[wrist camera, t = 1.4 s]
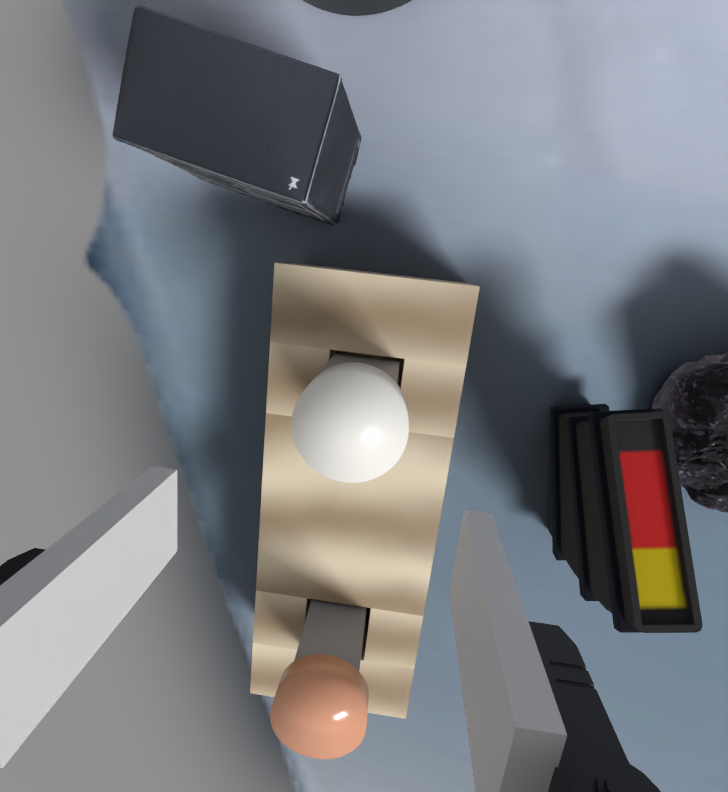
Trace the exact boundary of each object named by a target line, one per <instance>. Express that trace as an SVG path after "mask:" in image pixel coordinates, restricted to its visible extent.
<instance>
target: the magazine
mask: <svg viewBox="0 0 728 792" xmlns="http://www.w3.org/2000/svg"><path fill="white" fill-rule="evenodd" d="M549 532H550V534H551V536H552V537H553V554H554V556H555V558H556V560H566V561H567V563H568V564H569V566H570V567H571V569H572V570H573V572H574V573H575V575H576V576H577V577H578V578H579V585H580V595H581V596H582V597H583V598H584V599H585V601H599V602H600V603H601V604H602V605H603V606H604V607H605V608H606V609H607V610H608V611H610V612H611V613H612V615H613V623H614V628H615V629H616V630H618V631H619V632H643V633H688V632H698V631H700V630H701V628H702V619H701V613H700V607H699V600H698V594H697V588H696V581H695V575H694V568H693V562H692V556H691V549H690V543H689V537H688V530H687V524H686V517H685V511H684V505H683V498H682V492H681V486H680V479H679V473H678V467H677V460H676V454H675V447H674V441H673V435H672V428H671V422H670V417H669V416H668V414H667V413H664V411H663V409H662V408H659V409H639V410H620V411H609V406H607V405H606V404H596V405H591V404H580V405H562V406H554V407H551V429H550V485H549Z"/></svg>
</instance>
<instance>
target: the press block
mask: <svg viewBox="0 0 728 792" xmlns="http://www.w3.org/2000/svg"><path fill="white" fill-rule="evenodd" d="M479 289H480V286H476V285H473V284H469V283H465V282H457V281H448V280H439V279H431V278H422V277H413V276H405V275H396V274H387V273H379V272H370V271H361V270H353V269H344V268H335V267H327V266H318V265H309V264H301V263H274V280H273V298H272V315H271V333H270V351H269V368H268V386H267V404H266V421H265V439H264V457H263V474H262V492H261V510H260V528H259V545H258V563H257V581H256V598H255V616H254V634H253V651H252V669H251V688H250V693H254V694H259V695H265V696H272V697H275V694H276V691H277V688H278V685H279V681H280V678H281V675H282V673H283V672H284V670H285V669H286V668H287V667H288V666H289V665H290V664H291V663H292V662H294V659H295V656H296V652H297V649H298V645H299V642H300V638H301V635H302V631H303V628H304V624H305V621H306V617H307V614H308V610H309V607H310V603H311V600H317V601H323V602H330V603H337V604H343V605H350V606H356V607H363V608H367V609H366V618H365V627H364V635H363V644H362V652H361V661H360V669H359V672H360V673H361V674H362V676H363V677H364V679H365V681H366V683H367V686H368V690H369V702H368V713H374V714H380V715H386V716H393V717H399V718H405V719H406V714H407V708H408V702H409V696H410V690H411V685H412V679H413V673H414V667H415V661H416V656H417V650H418V644H419V638H420V632H421V626H422V621H423V615H424V609H425V603H426V597H427V592H428V586H429V580H430V574H431V568H432V562H433V557H434V551H435V545H436V539H437V533H438V528H439V522H440V516H441V510H442V504H443V498H444V493H445V487H446V481H447V475H448V469H449V464H450V458H451V452H452V446H453V440H454V434H455V429H456V423H457V417H458V411H459V405H460V400H461V394H462V388H463V382H464V376H465V370H466V365H467V359H468V353H469V347H470V341H471V335H472V330H473V324H474V318H475V312H476V306H477V301H478V295H479ZM334 354H339V355H347V356H355V357H363V358H371V359H379V360H387V361H395V362H399V372H398V386H399V387H400V388H401V390H402V392H403V394H404V396H405V399H406V402H407V406H408V414H409V434H408V440H407V444H406V447H405V450H404V452H403V454H402V456H401V457H400V459H399V460H398V461H397V463H396V464H395V465H394V466H393V467H392V468H391V469H390V470H388V471H387V472H386V473H384V474H383V475H381V476H379V477H377V478H375V479H372V480H369V481H365V482H359V483H346V482H340V481H335V480H332V479H329V478H327V477H325V476H323V475H321V474H320V473H318V472H316V471H315V470H314V469H313V468H311V467H310V466H309V465H308V464H307V463H306V462H305V460H304V459H303V458H302V457H301V455H300V453H299V452H298V450H297V448H296V445H295V443H294V440H293V436H292V429H291V420H292V414H293V410H294V407H295V404H296V402H297V400H298V398H299V397H300V395H301V394H302V392H303V391H304V390H305V389H306V388H307V386H308V385H309V384H310V383H311V381H312V380H313V379H314V378H315V377H316V376H317V375H318V374H319V373H320V371H321V370H322V369H323V368H324V366H325V365H326V364H327V363H328V362H329V360H330V359H331V358H332V357H333V355H334Z"/></svg>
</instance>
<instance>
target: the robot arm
mask: <svg viewBox="0 0 728 792" xmlns="http://www.w3.org/2000/svg"><path fill="white" fill-rule="evenodd" d="M304 1H305V2H307V3H309V4H311V5H313V6H315V7H318V8H320V9H322V10H326V11H329V12H332V13H337V14H343V15H354V16H360V15H371V14H377V13H382V12H385V11H389V10H392V9H394V8H397V7H399V6H402V5H404V4H406V3H408V2H410V1H411V0H304ZM176 552H177V470H176V469H169V468H162V467H155V466H152V467H150V468H149V469H148V470H146V471H145V472H144V473H143V474H141V475H140V476H139V477H138V478H137V479H135V480H134V481H133V482H132V483H130V484H129V485H128V486H126V487H125V488H124V489H122V490H121V491H120V492H119V493H117V494H116V495H115V496H113V497H112V498H111V499H110V500H108V501H107V502H106V503H105V504H103V505H102V506H101V507H100V508H98V509H97V510H96V511H94V512H93V513H92V514H91V515H89V516H88V517H87V518H86V519H84V520H83V521H82V522H81V523H79V524H78V525H77V526H75V527H74V528H73V529H72V530H71V531H69V532H68V533H67V534H65V535H64V536H63V537H61V538H60V539H59V540H58V541H56V542H55V543H54V544H52V545H51V546H50V547H49V548H47V549H46V550H44V549H37V548H34V549H32V550H29V551H27V552H25V553H23V554H20V555H18V556H16V557H14V558H12V559H9V560H8V561H6V562H5V563H4V564H2V565H1V566H0V768H3V767H4V766H5V764H6V763H7V762H8V761H9V759H10V758H11V757H12V755H13V754H14V753H15V752H16V751H17V749H18V748H19V747H20V746H21V744H22V743H23V742H24V741H25V739H26V738H27V737H28V736H29V735H30V733H31V732H32V731H33V730H34V728H35V727H36V726H37V725H38V723H39V722H40V721H41V720H42V718H43V717H44V715H46V713H47V712H48V711H49V710H50V708H51V707H52V706H53V705H54V703H55V702H56V701H57V700H58V698H59V697H60V696H61V695H62V694H63V692H64V691H65V690H66V689H67V687H68V686H69V685H70V684H71V682H72V681H73V680H74V679H75V677H76V676H77V675H78V674H79V672H80V671H81V670H82V669H83V667H84V666H85V665H86V664H87V662H88V661H89V660H90V658H91V657H92V656H93V655H94V654H95V652H96V651H97V650H98V649H99V647H100V646H101V645H102V644H103V642H104V641H105V640H106V639H107V638H108V636H109V635H110V634H111V633H112V631H113V630H114V629H115V628H116V626H117V625H118V624H119V623H120V621H121V620H122V619H123V618H124V616H125V615H126V614H127V613H128V611H129V610H130V609H131V608H132V606H133V605H134V604H135V603H136V601H137V600H138V599H139V598H140V596H141V595H142V594H143V593H144V591H145V590H146V589H147V588H148V587H149V585H150V584H151V583H152V582H153V580H154V579H155V578H156V577H157V575H158V574H159V573H160V572H161V570H162V569H163V568H164V567H165V565H166V564H167V563H168V562H169V560H170V559H171V558H172V557H173V556H174V554H175V553H176ZM449 593H450V601H451V609H452V616H453V624H454V632H455V639H456V647H457V655H458V662H459V670H460V678H461V685H462V693H463V701H464V708H465V716H466V724H467V731H468V739H469V747H470V754H471V762H472V770H473V777H474V785H475V792H660V790H659V789H658V788H657V787H656V786H655V785H654V784H653V783H652V782H651V781H650V780H649V779H648V778H647V776H646V775H645V774H644V773H642V772H641V771H639V770H638V769H636V768H635V767H633V766H632V765H630V764H629V762H628V760H627V758H626V755H625V753H624V751H623V749H622V747H621V744H620V742H619V740H618V738H617V735H616V733H615V731H614V729H613V726H612V724H611V722H610V720H609V717H608V715H607V713H606V711H605V708H604V706H603V704H602V702H601V699H600V697H599V695H598V693H597V691H596V689H594V684H593V682H592V679H591V677H590V675H589V673H588V671H586V666H585V664H584V661H583V659H582V657H581V655H580V652H579V650H578V648H577V646H576V644H575V643H574V642H573V641H572V640H571V639H570V638H569V637H568V636H567V634H566V633H565V632H564V631H563V630H562V629H561V628H560V627H559V626H557V625H550V624H543V623H537V622H530V621H528V619H527V616H526V613H525V610H524V607H523V604H522V601H521V598H520V595H519V592H518V589H517V587H516V584H515V581H514V578H513V575H512V572H511V569H510V566H509V563H508V560H507V557H506V554H505V551H504V549H503V546H502V543H501V540H500V537H499V534H498V531H497V528H496V525H495V522H494V519H493V516H492V514H491V513H484V512H477V511H470V510H464V515H463V520H462V526H461V531H460V537H459V542H458V547H457V553H456V558H455V564H454V569H453V574H452V580H451V585H450V591H449Z"/></svg>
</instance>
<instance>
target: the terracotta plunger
mask: <svg viewBox="0 0 728 792" xmlns="http://www.w3.org/2000/svg"><path fill="white" fill-rule="evenodd" d="M366 609H367V608H363V607H356V606H350V605H343V604H337V603H330V602H323V601H317V600H311V603H310V607H309V610H308V614H307V617H306V621H305V624H304V628H303V631H302V635H301V638H300V642H299V645H298V649H297V652H296V656H295V659H294V662H292V663H291V664H290V665H289V666H288V667H287V668H286V669H285V670H284V672H283V673H282V675H281V678H280V681H279V685H278V688H277V691H276V694H275V698H274V701H273V704H272V708H271V713H270V719H271V724H272V727H273V730H274V732H275V734H276V735H277V737H278V738H279V739H280V740H281V741H282V742H283V743H284V744H285V745H286V746H287V747H288V748H290V749H291V750H293V751H295V752H297V753H299V754H301V755H304V756H307V757H311V758H316V759H333V758H338V757H341V756H344V755H346V754H348V753H350V752H352V751H353V750H354V749H355V748H357V747H358V746H359V744H360V743H361V742H362V740H363V738H364V736H365V732H366V725H367V714H368V702H369V690H368V686H367V683H366V681H365V679H364V677H363V676H362V674H361V673H360V672H359V669H360V661H361V652H362V644H363V635H364V627H365V618H366Z"/></svg>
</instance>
